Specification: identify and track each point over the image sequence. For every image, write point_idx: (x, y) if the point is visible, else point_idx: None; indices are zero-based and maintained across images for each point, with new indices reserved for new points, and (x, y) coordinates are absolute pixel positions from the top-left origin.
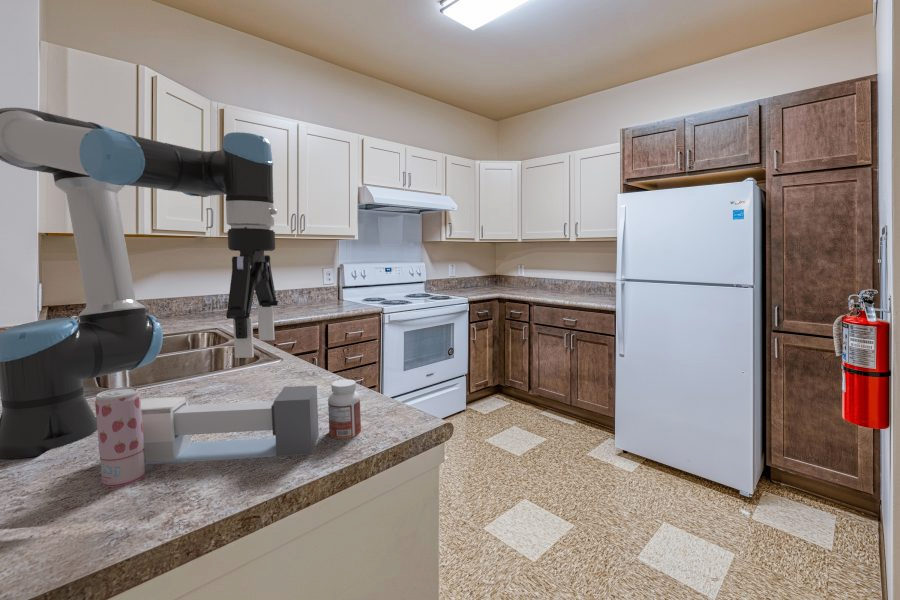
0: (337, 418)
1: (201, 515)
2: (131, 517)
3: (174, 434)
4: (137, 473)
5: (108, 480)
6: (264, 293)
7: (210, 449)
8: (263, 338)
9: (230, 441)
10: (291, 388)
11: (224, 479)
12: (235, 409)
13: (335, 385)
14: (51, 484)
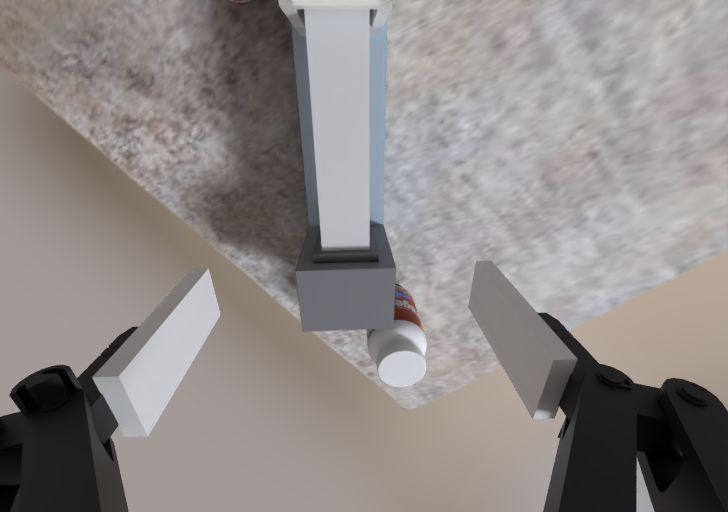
0: None
1: (153, 164)
2: (131, 51)
3: (303, 24)
4: None
5: None
6: (551, 495)
7: None
8: (475, 280)
9: (379, 124)
10: (381, 285)
11: (253, 159)
12: (320, 174)
13: (387, 359)
14: None
